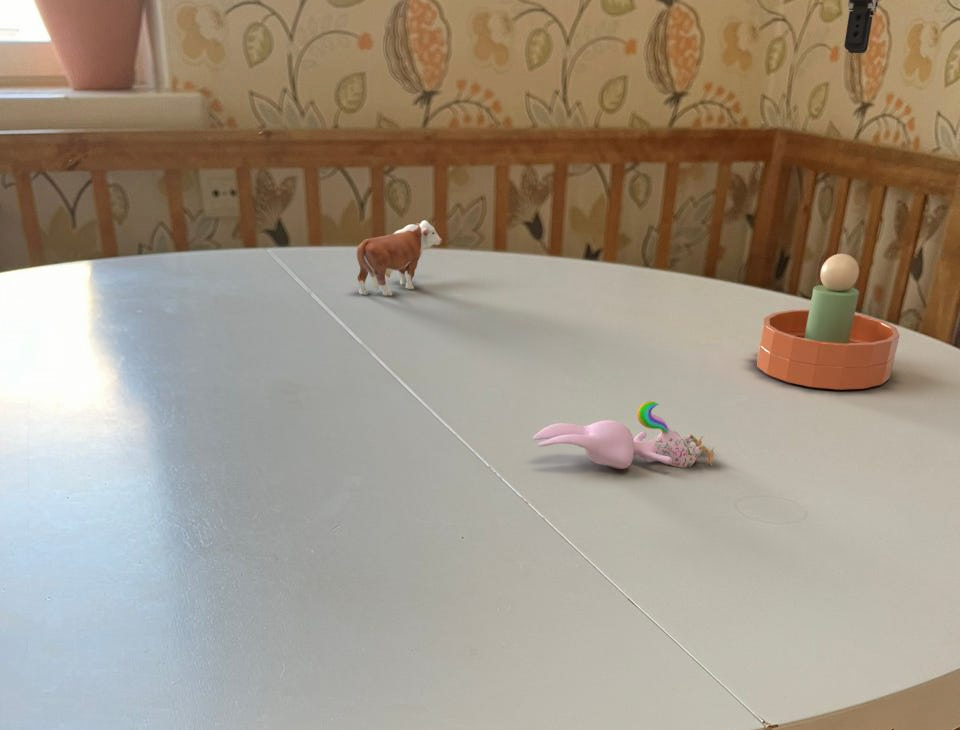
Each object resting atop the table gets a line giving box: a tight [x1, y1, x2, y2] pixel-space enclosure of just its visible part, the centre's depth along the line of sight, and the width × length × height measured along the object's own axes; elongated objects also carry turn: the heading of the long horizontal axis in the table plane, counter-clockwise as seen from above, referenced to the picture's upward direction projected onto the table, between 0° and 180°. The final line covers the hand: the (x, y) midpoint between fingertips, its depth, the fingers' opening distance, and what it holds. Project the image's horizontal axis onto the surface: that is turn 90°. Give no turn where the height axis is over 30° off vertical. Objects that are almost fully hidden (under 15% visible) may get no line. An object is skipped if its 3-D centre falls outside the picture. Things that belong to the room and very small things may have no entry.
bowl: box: [756, 308, 901, 391], centre depth 107 cm, size 13×13×5 cm
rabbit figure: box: [532, 400, 716, 470], centre depth 84 cm, size 6×6×15 cm
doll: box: [804, 253, 860, 343], centre depth 105 cm, size 4×4×11 cm
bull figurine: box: [356, 219, 443, 297], centre depth 133 cm, size 4×13×8 cm, turn 137°
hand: (855, 51), depth 120 cm, fingers open, 8 cm apart
